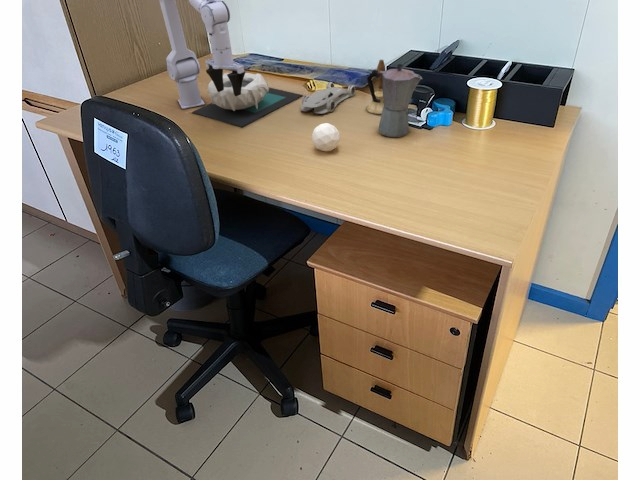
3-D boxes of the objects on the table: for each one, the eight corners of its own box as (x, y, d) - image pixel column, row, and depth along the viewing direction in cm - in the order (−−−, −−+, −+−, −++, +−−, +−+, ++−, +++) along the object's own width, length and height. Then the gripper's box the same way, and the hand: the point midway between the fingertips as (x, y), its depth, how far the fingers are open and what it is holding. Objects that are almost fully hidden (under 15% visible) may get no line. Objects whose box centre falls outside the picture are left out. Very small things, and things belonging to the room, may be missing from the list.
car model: (357, 93, 170) (357, 79, 167) (321, 119, 154) (320, 104, 151) (331, 89, 175) (330, 75, 172) (293, 113, 159) (292, 98, 156)
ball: (333, 156, 139) (349, 135, 135) (319, 158, 133) (336, 136, 129) (316, 138, 141) (331, 117, 137) (301, 139, 134) (317, 117, 130)
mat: (242, 127, 153) (241, 126, 152) (192, 113, 165) (192, 111, 165) (302, 96, 172) (302, 95, 171) (254, 85, 184) (253, 84, 184)
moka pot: (417, 139, 139) (422, 70, 127) (364, 137, 142) (364, 69, 130) (418, 125, 146) (423, 58, 134) (368, 124, 149) (368, 58, 137)
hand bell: (392, 104, 161) (393, 55, 151) (392, 114, 154) (394, 63, 145) (367, 104, 162) (367, 56, 152) (366, 114, 155) (366, 64, 146)
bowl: (199, 116, 160) (193, 87, 154) (226, 94, 176) (221, 67, 170) (256, 121, 155) (252, 90, 149) (278, 97, 170) (275, 69, 164)
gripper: (194, 48, 142) (203, 93, 150) (228, 54, 134) (236, 101, 142) (212, 42, 146) (220, 86, 154) (246, 47, 139) (252, 93, 147)
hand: (229, 93), depth 149 cm, fingers open, 7 cm apart
